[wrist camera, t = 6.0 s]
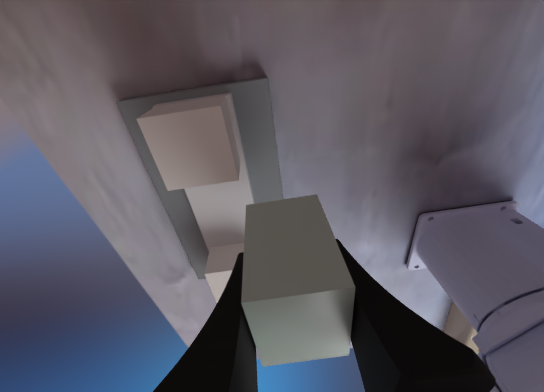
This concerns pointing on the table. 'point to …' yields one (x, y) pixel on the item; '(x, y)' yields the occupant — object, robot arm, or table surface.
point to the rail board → (253, 145)
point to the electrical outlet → (460, 328)
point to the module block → (295, 283)
